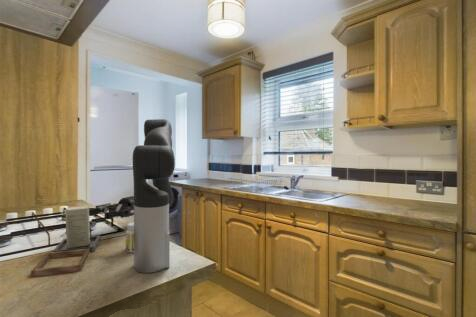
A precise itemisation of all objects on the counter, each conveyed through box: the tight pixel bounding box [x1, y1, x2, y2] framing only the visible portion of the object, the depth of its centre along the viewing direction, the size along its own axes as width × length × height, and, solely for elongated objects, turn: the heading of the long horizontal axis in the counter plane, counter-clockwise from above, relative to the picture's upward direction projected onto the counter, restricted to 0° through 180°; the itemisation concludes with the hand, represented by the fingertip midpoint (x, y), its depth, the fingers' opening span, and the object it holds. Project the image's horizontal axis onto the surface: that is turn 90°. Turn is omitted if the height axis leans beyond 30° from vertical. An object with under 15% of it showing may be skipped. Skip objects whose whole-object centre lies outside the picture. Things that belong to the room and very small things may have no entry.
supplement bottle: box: [125, 221, 134, 253], centre depth 83 cm, size 5×5×8 cm
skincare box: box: [64, 205, 91, 248], centre depth 85 cm, size 6×4×12 cm
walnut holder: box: [30, 248, 91, 278], centre depth 73 cm, size 11×12×2 cm
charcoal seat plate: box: [52, 235, 101, 253], centre depth 85 cm, size 11×11×1 cm
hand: (96, 214), depth 90 cm, fingers open, 8 cm apart
